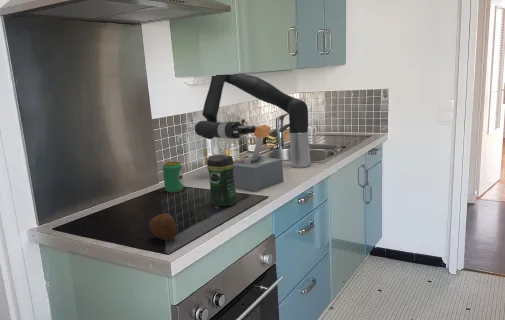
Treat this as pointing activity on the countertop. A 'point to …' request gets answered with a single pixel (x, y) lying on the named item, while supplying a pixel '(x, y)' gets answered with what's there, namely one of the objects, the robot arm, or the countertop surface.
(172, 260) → the countertop surface
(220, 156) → the coffee jar
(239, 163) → the switch box
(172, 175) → the beverage can
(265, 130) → the mallet
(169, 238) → the potato
